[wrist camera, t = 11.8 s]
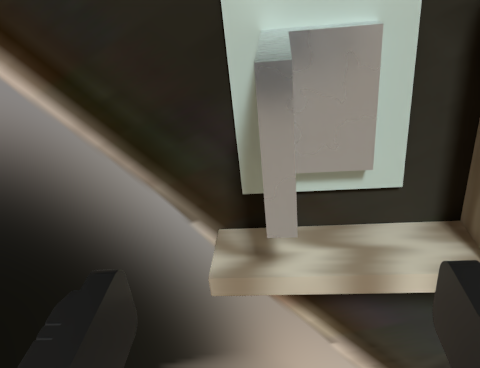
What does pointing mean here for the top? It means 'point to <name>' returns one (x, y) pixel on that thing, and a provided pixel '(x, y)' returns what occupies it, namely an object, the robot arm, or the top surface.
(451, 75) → the top surface
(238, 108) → the pad
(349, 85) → the angle bracket
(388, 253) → the corner walls
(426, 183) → the top surface
